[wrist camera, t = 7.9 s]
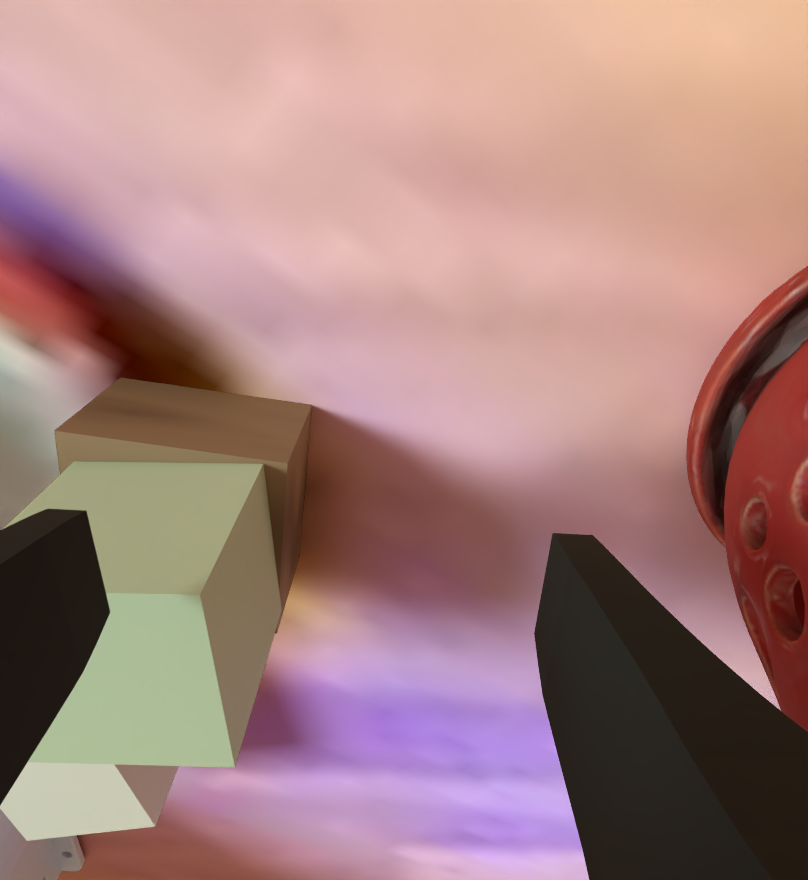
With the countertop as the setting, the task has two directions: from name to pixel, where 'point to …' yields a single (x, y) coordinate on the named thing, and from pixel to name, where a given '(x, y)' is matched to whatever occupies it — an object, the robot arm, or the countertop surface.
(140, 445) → the walnut block
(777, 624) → the plant pot
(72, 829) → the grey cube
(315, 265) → the countertop surface
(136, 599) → the sage cube
